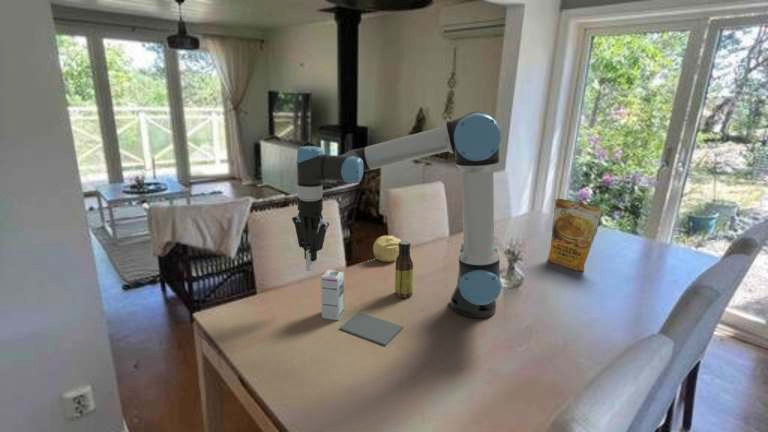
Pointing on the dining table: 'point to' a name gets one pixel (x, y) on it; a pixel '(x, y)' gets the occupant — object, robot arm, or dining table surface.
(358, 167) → the robot arm
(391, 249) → the yellow round lump
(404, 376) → the dining table surface
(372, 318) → the felt mat
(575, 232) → the pancake mix bag
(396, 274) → the sauce bottle
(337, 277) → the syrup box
